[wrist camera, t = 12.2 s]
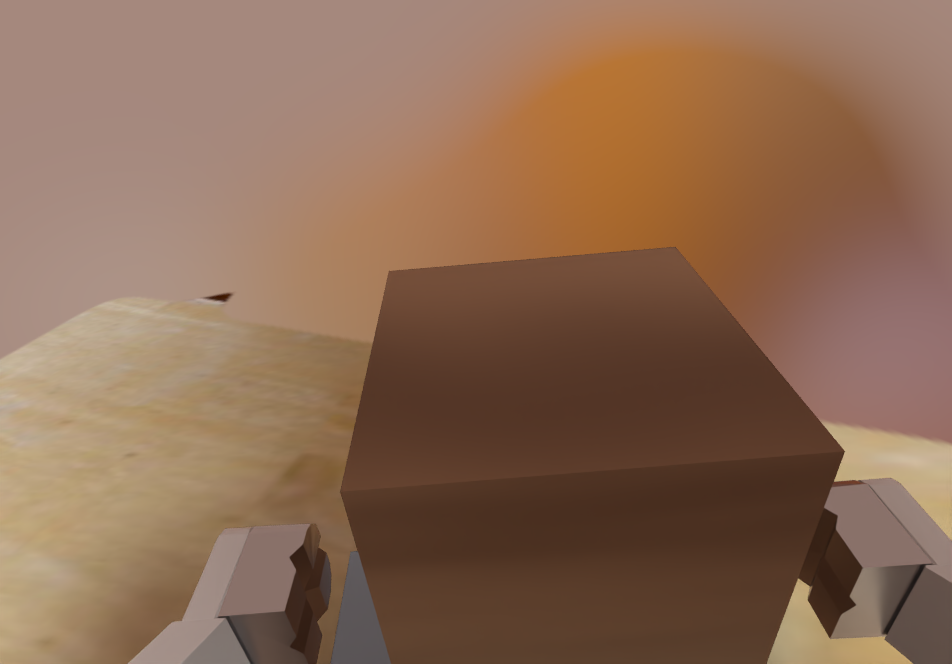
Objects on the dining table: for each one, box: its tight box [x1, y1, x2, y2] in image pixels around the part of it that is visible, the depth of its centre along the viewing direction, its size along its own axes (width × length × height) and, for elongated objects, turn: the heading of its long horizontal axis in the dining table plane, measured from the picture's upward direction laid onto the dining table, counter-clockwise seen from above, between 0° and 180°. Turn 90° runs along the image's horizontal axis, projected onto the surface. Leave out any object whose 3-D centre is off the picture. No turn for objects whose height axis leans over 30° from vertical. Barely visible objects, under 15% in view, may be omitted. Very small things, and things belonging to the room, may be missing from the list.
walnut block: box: [340, 247, 845, 664], centre depth 11 cm, size 5×5×12 cm
